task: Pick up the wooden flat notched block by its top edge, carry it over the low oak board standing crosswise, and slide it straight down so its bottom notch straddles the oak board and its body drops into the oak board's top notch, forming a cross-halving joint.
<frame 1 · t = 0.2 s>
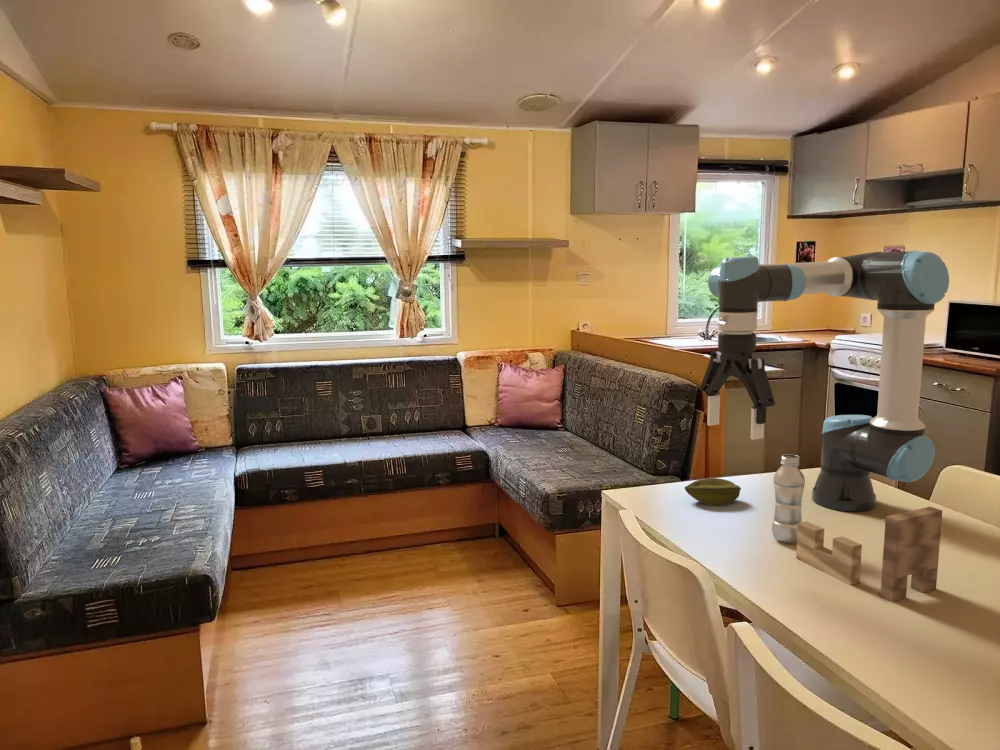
hand: (734, 431, 150), 28 cm above the table, fingers open, 13 cm apart
wooden flat notched block: (908, 592, 136), on the table
oak slot board: (826, 569, 147), on the table
plastic bottle: (786, 541, 162), on the table
fruit: (713, 503, 188), on the table
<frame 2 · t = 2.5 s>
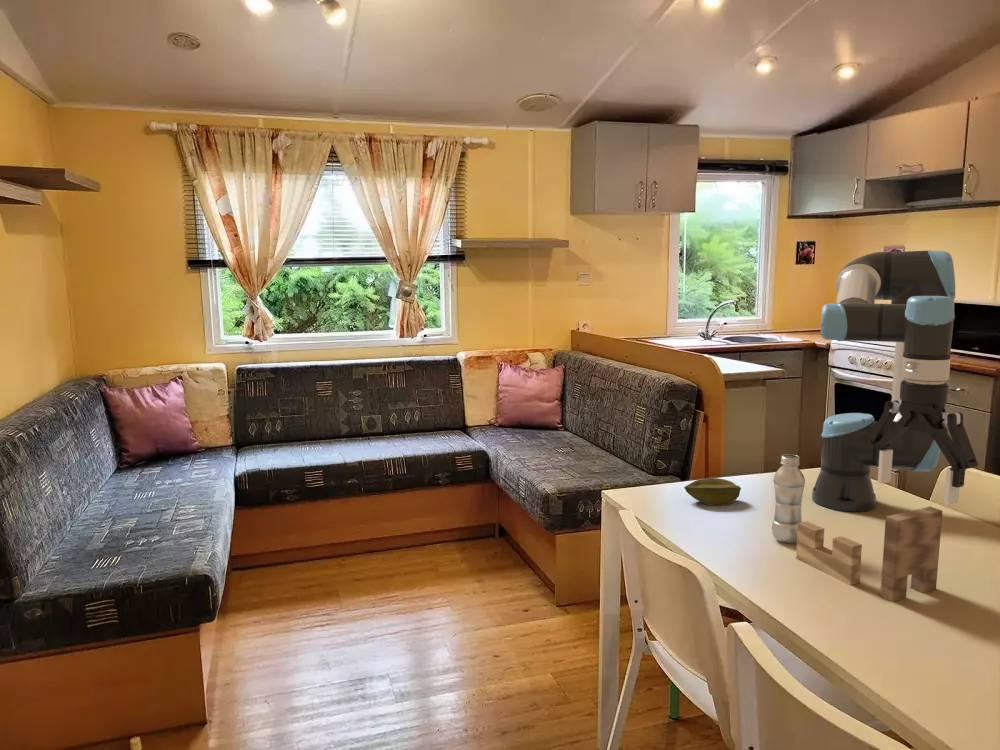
hand: (916, 492, 133), 20 cm above the table, fingers open, 13 cm apart
nothing on the table moved.
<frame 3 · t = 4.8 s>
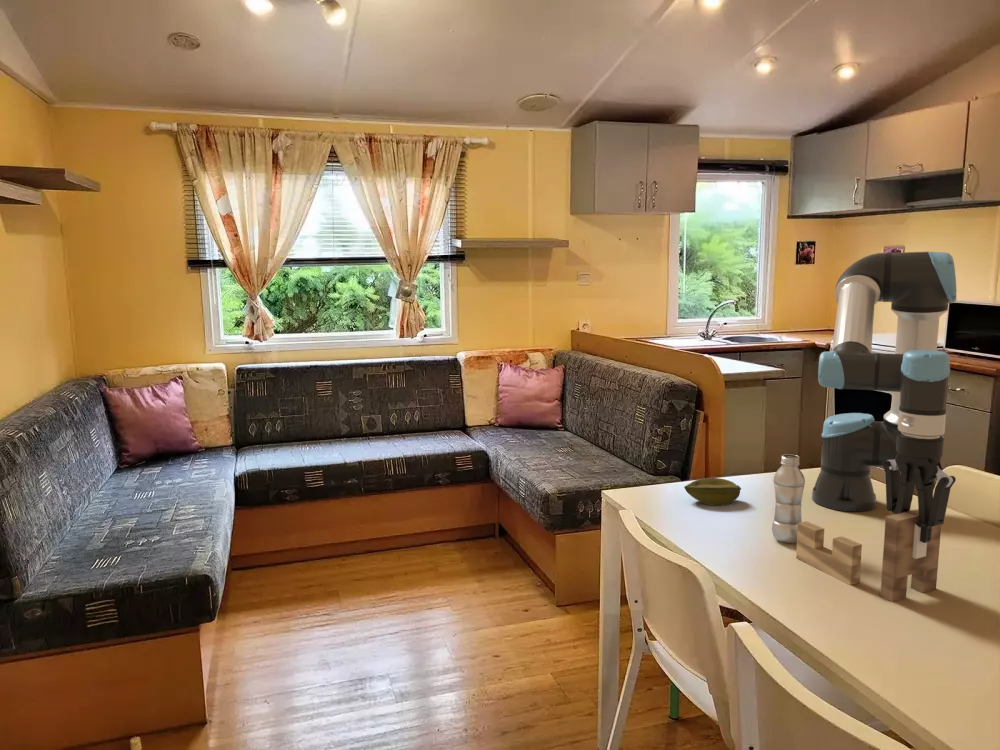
hand: (911, 553, 135), 8 cm above the table, fingers closed on wooden flat notched block, 2 cm apart
wooden flat notched block: (908, 592, 136), on the table, touching gripper
everything else where it was.
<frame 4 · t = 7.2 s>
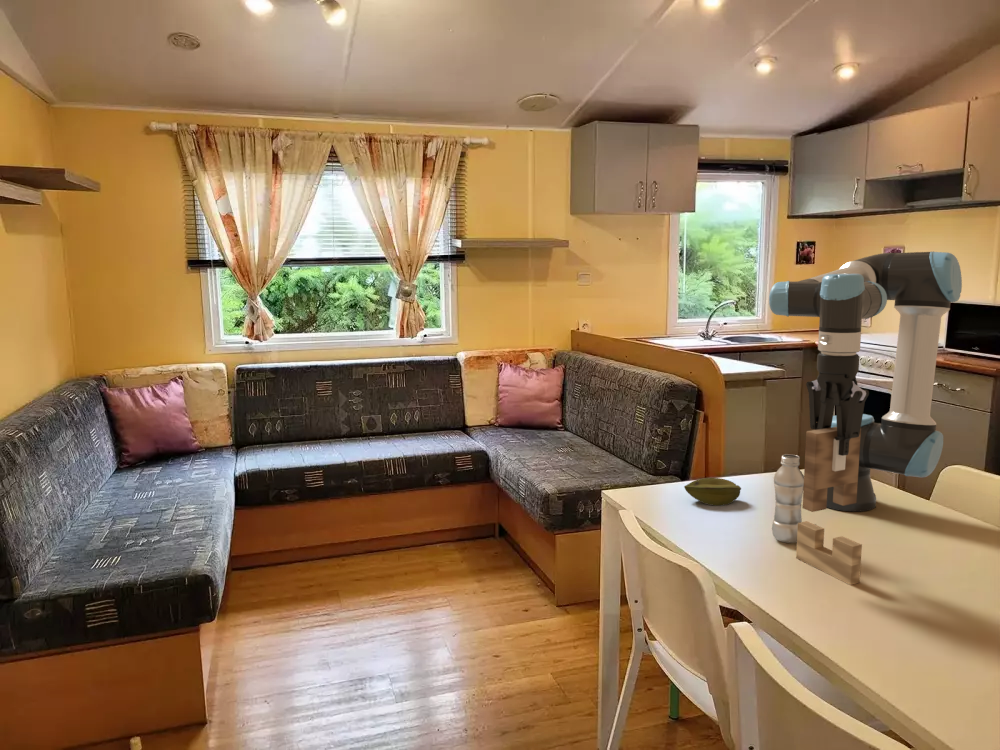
hand: (831, 467, 143), 22 cm above the table, fingers closed on wooden flat notched block, 2 cm apart
wooden flat notched block: (829, 505, 144), point 14 cm above the table, touching gripper
everything else where it was.
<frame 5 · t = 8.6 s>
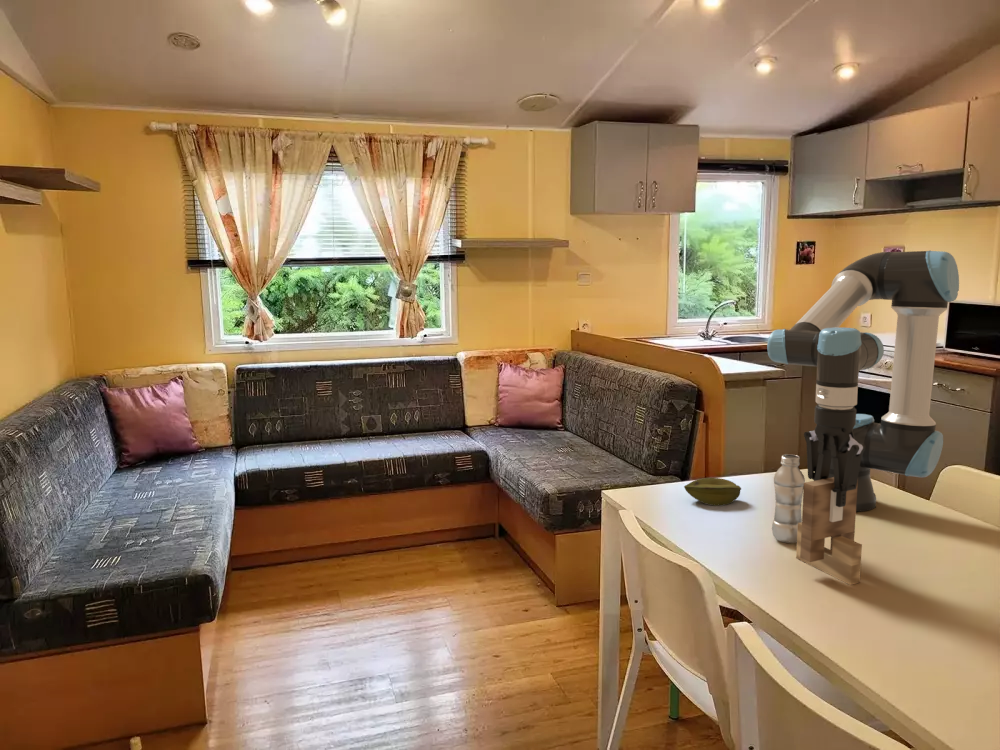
hand: (829, 517, 145), 11 cm above the table, fingers closed on wooden flat notched block, 2 cm apart
wooden flat notched block: (827, 554, 146), point 3 cm above the table, touching gripper
everything else where it was.
when the fingers open (9 cm above the table, at t = 9.6 s): wooden flat notched block stays where it is, on the table.
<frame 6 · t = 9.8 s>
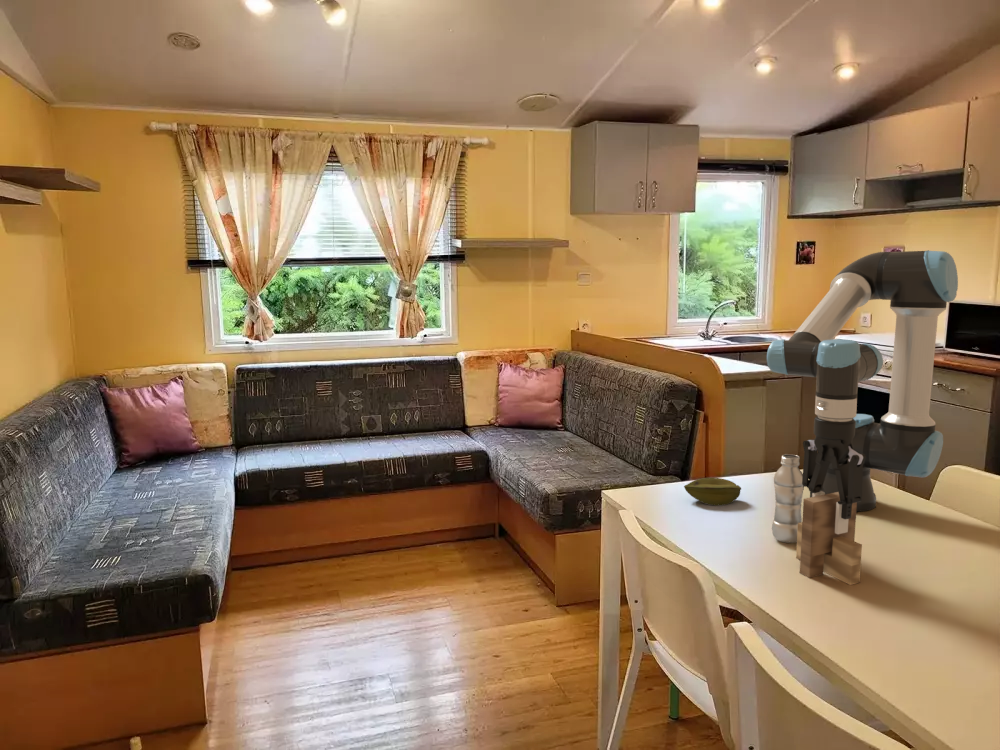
hand: (828, 527, 145), 9 cm above the table, fingers open, 5 cm apart
wooden flat notched block: (826, 569, 147), on the table
everything else where it was.
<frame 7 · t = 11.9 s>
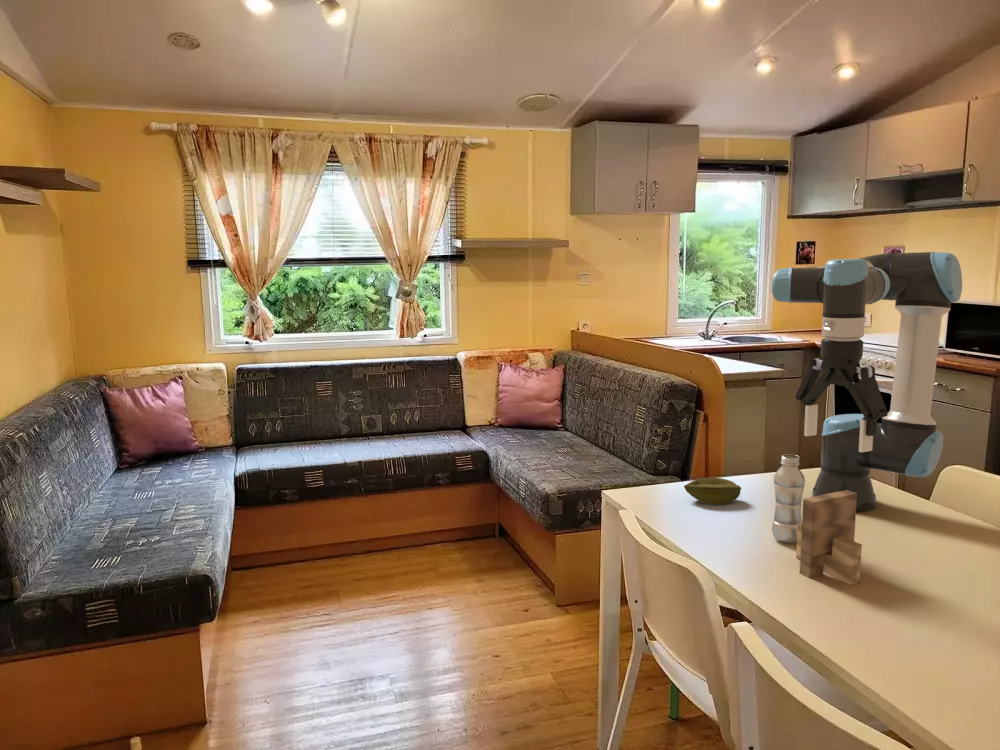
hand: (836, 443, 143), 27 cm above the table, fingers open, 13 cm apart
nothing on the table moved.
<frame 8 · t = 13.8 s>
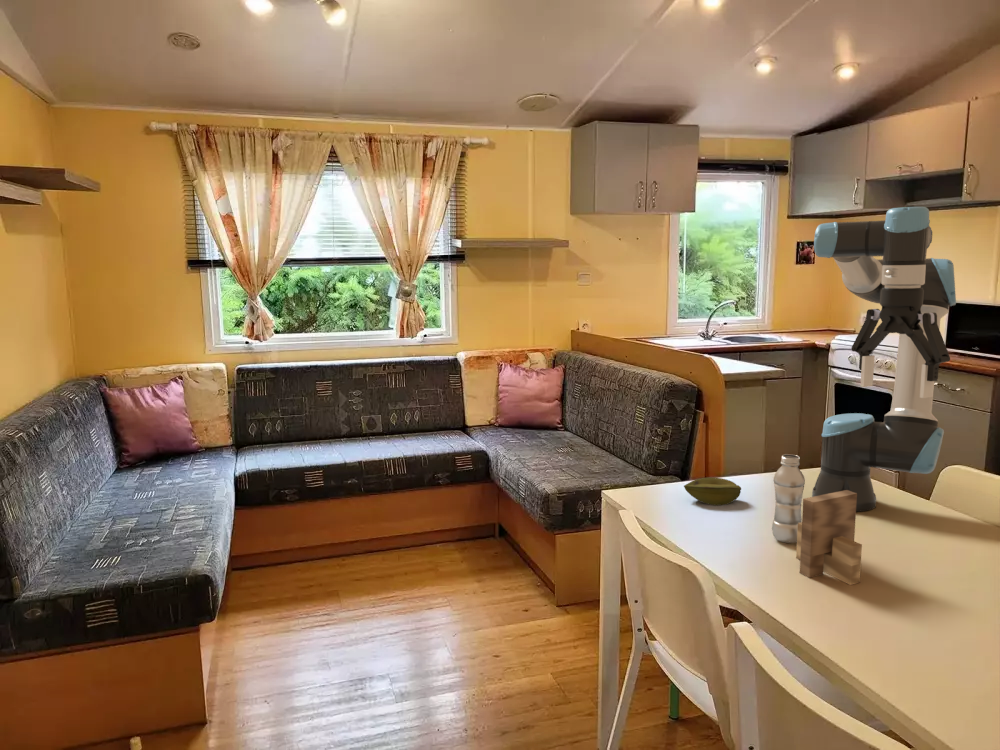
hand: (895, 391, 144), 37 cm above the table, fingers open, 13 cm apart
nothing on the table moved.
at the end: wooden flat notched block 0.1 cm off-centre on the oak slot board, point 0.0 cm above the oak slot board's base; wooden flat notched block tilted 0°; the gripper is holding nothing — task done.
